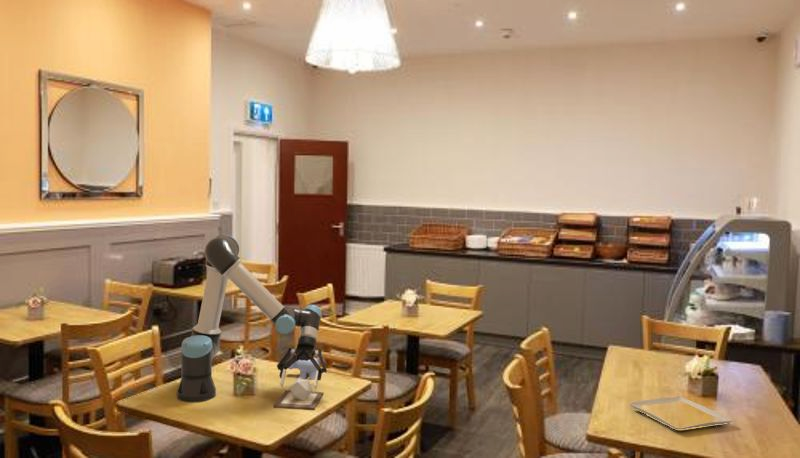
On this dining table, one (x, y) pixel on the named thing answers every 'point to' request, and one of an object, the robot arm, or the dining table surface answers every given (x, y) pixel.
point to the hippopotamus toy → (305, 368)
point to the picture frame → (298, 401)
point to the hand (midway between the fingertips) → (298, 386)
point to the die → (301, 389)
